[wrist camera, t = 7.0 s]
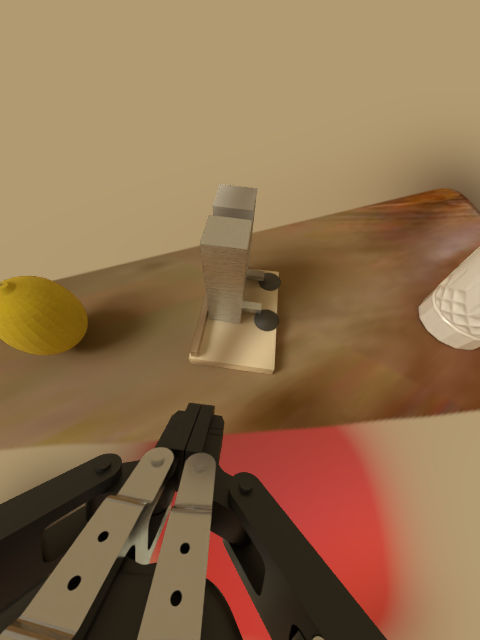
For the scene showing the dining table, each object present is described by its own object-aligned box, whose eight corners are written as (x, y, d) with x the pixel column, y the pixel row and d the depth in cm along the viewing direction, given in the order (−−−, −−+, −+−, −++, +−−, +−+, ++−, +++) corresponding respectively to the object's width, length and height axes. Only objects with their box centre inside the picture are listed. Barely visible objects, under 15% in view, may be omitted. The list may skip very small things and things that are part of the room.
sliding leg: (209, 319, 22) (199, 243, 14) (214, 294, 24) (209, 215, 16) (258, 326, 22) (276, 253, 14) (261, 301, 23) (277, 223, 16)
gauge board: (190, 363, 21) (164, 293, 12) (214, 271, 27) (208, 181, 18) (274, 374, 21) (308, 312, 12) (278, 279, 27) (303, 192, 18)
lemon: (101, 309, 23) (49, 247, 17) (105, 356, 21) (47, 306, 14) (40, 325, 22) (-43, 265, 15) (37, 377, 20) (-64, 333, 13)
